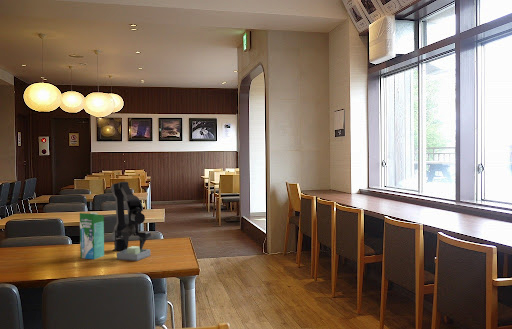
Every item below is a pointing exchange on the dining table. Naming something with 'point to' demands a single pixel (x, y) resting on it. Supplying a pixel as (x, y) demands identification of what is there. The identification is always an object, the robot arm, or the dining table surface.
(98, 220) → the milk carton
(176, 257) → the dining table surface
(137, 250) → the sage cube
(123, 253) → the slate bin
